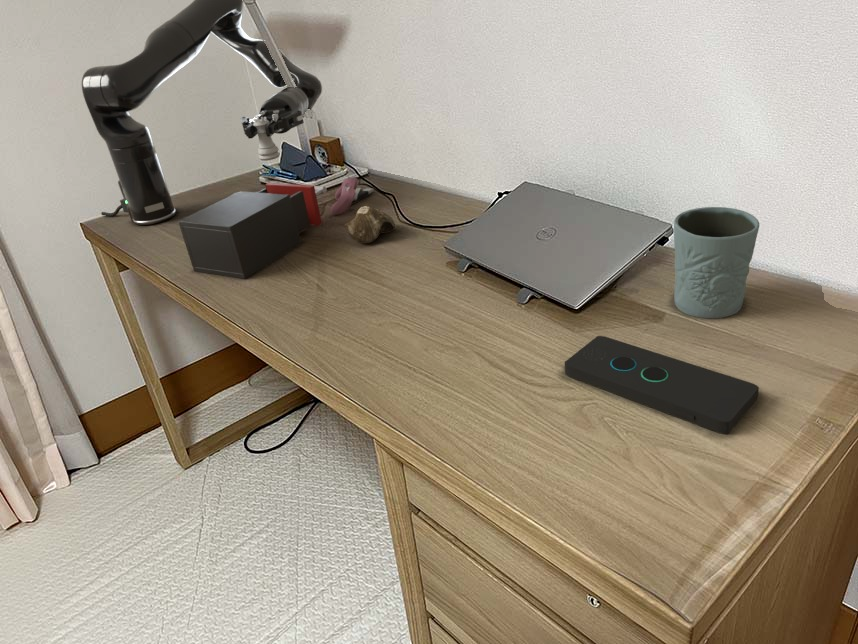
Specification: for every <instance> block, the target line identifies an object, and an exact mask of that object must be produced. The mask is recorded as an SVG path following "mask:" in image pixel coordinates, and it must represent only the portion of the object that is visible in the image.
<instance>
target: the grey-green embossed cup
mask: <svg viewBox="0 0 858 644" xmlns="http://www.w3.org/2000/svg"><path fill="white" fill-rule="evenodd" d="M759 230H760V221H759V219H758V218H757V217H756V216H754V214H751V213H750V212H748V211H745V210H742V209H737V208H732V207H725V206H704V207H697V208H692V209H688V210H685V211H683V212H680V213H679V214H678V215H677V216H676V217H675V218H674V221H673V243H674V267H673V268H674V272H675V274H674V287H673V290H674V292H673V295H674V296H673V299H674V304H675V306H676V308H677V309H678V311H681V312H682V313H684V314H686V315H689V316H692V317H696V318H700V319H701V318H702V319H723V318H727V317H730V316H733V315H735V314H737V313H738V312H739V311H740V310H741V309H742V307H743V303H744V299H745V295H746V288H747V280H748V275H749V273H750V263H751V261H752V259H753V254H754V251H755V247H756V242H757V237H758V234H759Z"/></svg>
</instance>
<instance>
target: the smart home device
mask: <svg viewBox="0 0 858 644" xmlns="http://www.w3.org/2000/svg"><path fill="white" fill-rule="evenodd" d="M564 374H565V375H566V376H567V377H569V378H571V379H574V380H577V381H579V382H581V383H585V384H587V385H590V386H593V387H595V388H598V389H601V390H603V391H606V392H607V393H608V392H609V393H612V394H614V395H617V396H619V397H621V398H624V399H627V400H630V401H633V402H635V403H638V404H641V405H643V406H645V407H648V408H651V409H653V410H657V411H659V412H662V413H665V414H667V415H670V416H673V417H676V418H677V419H680V420H683V421H686V422H688V423H692V424H693V425H697V426H699V427H701V428H705V429H707V430H710V431H712V432H716V433H719V434H723V435H727V434H730V432H731V431H732V430H733V429H734V428H735V426H736V425H737V424H738V423H739V422H740V421H741V419H742V418H743V417H744V416H745V415H746V414H747V412H748V411H749V410H750V409H751V408H752V407H753V406H754V404H755V403H756V402H757V401H758V398H759V391H760V386H758V385H757V384H755V383H753V382H750V381H747V380H744V379H741V378H737V377H734V376H731V375H728V374H724V373H721V372H719V371H716V370H712V369H708V368H706V367H702V366H700V365H697V364H693V363H690V362H686V361H683V360H680V359H676V358H675V357H672V356H668V355H665V354H662V353H659V352H655V351H652V350H649V349H646V348H643V347H640V346H636V345H633V344H630V343H627V342H624V341H620V340H618V339H616V338H615V339H614V338H612V337H608V336H603V335H597V336H595V337H594V338H593V339H592V340H590V341H589V342H588V343H587V344H585V345H584V346H583V347H582V348H581V349H579V350H578V351H576V352H575V353H574V354H573V355H571V356H570V357H569V358H568V359H566V360H565V361H564Z"/></svg>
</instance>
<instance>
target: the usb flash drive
mask: <svg viewBox="0 0 858 644" xmlns="http://www.w3.org/2000/svg"><path fill="white" fill-rule="evenodd" d="M374 191H375V190H374V188H370V187H366V188H364V189H362V187H357V188H356V190H355V196H356V195H357V200H356V201H355V199H354V200H353V202H352V203H351V205H354V204H356V203H357V202H359V201H360V200H363V199H364V198H366V197H368V196H370V194H371V193H373V192H374Z"/></svg>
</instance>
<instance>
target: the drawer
mask: <svg viewBox="0 0 858 644" xmlns="http://www.w3.org/2000/svg"><path fill="white" fill-rule="evenodd" d="M327 190H328V189H327V187H326V186H325V185H313V184H312V185H311V184H296V183H280V182H279V183H278V182H268V183H266V184H265V188H262V189H260V190H258V191H256V192H257V193H271V194H285V195H290V199H291V203H292V207H293V211H294V215H295V220H296V224H297V228H298V232H299V234H301V233H302V232H304V231H305V230H307V229H309V228H311V226H321V225H322V224H323V220H322V215H321V212H320V207H319V202H318V198H317V196H319V195H320V194H326V193H327V192H328V191H327Z"/></svg>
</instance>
